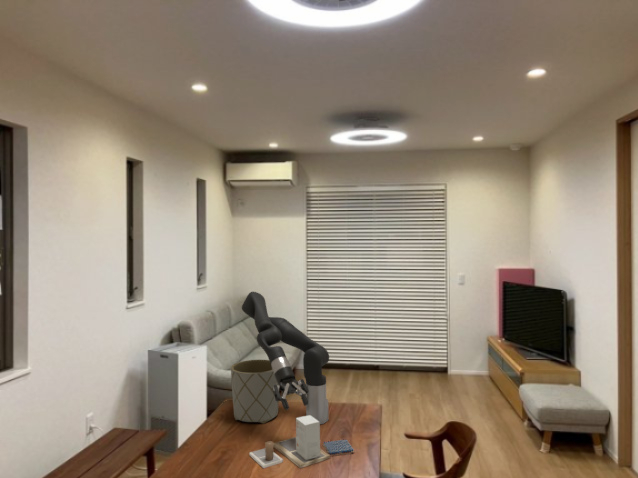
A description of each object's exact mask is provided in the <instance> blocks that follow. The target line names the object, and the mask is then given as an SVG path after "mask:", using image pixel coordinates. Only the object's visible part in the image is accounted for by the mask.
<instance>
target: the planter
mask: <svg viewBox="0 0 638 478" xmlns="http://www.w3.org/2000/svg"><path fill="white" fill-rule="evenodd" d="M230 379H231V391H232V392H231V395H232V404H233V405H232V406H233V407H232V408H233V416H234V420H235V421H241V422H246V423H260V424H266V423H268V422H269V421H272V420H273V419H274V418H275V417H277V415H278V413H279V402H280V401H276V399H275V396H274V393H273V390H272V388H273V386H274V385H275V384H276V385H278V383H277V380H276V378H275V375H274V373H273V370H272V366H271V363H270V361H269V359H250V360H249V359H248V360H243V361H239V362H236V363H234V364H232V365H231V366H230Z"/></svg>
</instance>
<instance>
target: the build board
mask: <svg viewBox="0 0 638 478" xmlns="http://www.w3.org/2000/svg"><path fill="white" fill-rule="evenodd" d="M274 448H275V449H276V451H278V452H279V453H280V454H282V455H283V456H284V457H285V458H287V459H288V460H289V461H291V463H292V464H294V465H295V466H297V467H298V468H299V469H303V468H305V467H309V466H311V465H315V464H317V463H320V462H323V461H326V460H330V458H331V456H330V455H329V453H327V451H326V452H325V451H324V450H323V449H322V448H320V456H319V457H316V458H312V459H308V460H305V459H304V458H303V457H302V456H301V455H299V454H298V453H297V452H296V436H295V437H291V438H288V439H284V440H280V441H276V442H273V449H274Z"/></svg>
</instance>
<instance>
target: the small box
mask: <svg viewBox="0 0 638 478" xmlns="http://www.w3.org/2000/svg"><path fill="white" fill-rule="evenodd" d="M320 425H321V424H320V422H319V421H318V420H316V419H315V418H313V417H312V416H311V415H308V416H306V415H303V416H298V417H295V437H296V452H297V453H298V454H299V455H301V456H302V457H303V458H304V459H305V460H308V459H312V458H316V457H319V456H320V449H321V426H320Z"/></svg>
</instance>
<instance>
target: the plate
mask: <svg viewBox="0 0 638 478" xmlns="http://www.w3.org/2000/svg"><path fill="white" fill-rule="evenodd" d="M273 443H274V441H271V440H268V441H266V442H264V448H262V449H258V450H253V451H250V452H249V453H248V454H249V456H250V458H252V459H253V461H254V462H256V463H257V464H258V465H259V466H260V467H261V468H262V469H266V468H268V467H269V468H270V467H272V466H276V465H279V464H282V463H283V462H284V459H283V458H282V457H280V456H279V455H278V454H277V453H276V452H274V447H273Z"/></svg>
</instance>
